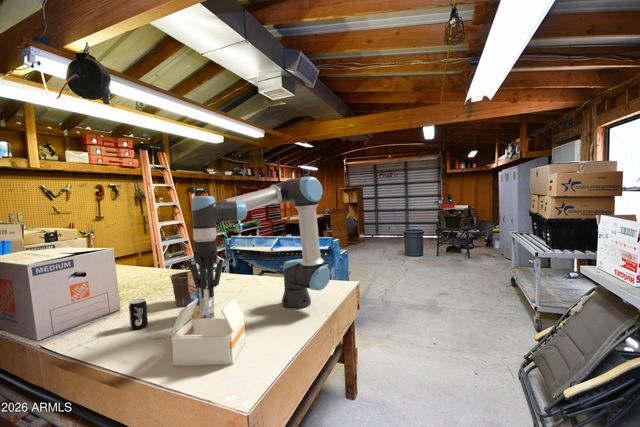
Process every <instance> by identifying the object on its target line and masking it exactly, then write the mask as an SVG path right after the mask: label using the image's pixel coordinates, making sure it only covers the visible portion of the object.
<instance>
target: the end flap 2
mask: <svg viewBox="0 0 640 427" xmlns="http://www.w3.org/2000/svg"><path fill="white" fill-rule="evenodd" d="M221 313H222V316H223V318H225V319H226V321H227V323H228V325H229V327H230V329H231V331H232V332H233V331H234V330H235V328H236V327H237V325H238V324H239V323H240V321H241V320H242V319H243V317H244V318H245V314H244V313H243V310H242V309H241V306H240V305H239V303H238V301H237V299H236V297H235V296H234V297H233V298H231V300H230V301H229V302H228V303H227V304H226V305H225V306H224V307H223V308H222V309H221Z"/></svg>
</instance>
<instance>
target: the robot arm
mask: <svg viewBox="0 0 640 427" xmlns="http://www.w3.org/2000/svg"><path fill="white" fill-rule="evenodd" d="M323 190H324V189H323V186H322V184H321V182H320V181H319V180H318V179H317V178H316V177H313V176H301V177H296V178H295V177H294V178H290V179H287V180H286V179H285V180H283V181H281V182H279V183H275V184H274V183H273V184H272V185H270V186H269V187H268V188H267V187H266V188H264V189H260V190H257V191H253V192H252V191H251V192H248V193H244V194H242V195H241V194H240V195H237V196H233V197H230V198H226V199H223V200H218V201H216V198H215V196H212V195H199V196H194V197H192V199H191V209H190V210H191V217H192V237H193V238H192V240H193V241H194V242H193V252H194V254H193V256H192V257H193V258H191V259H189V260H187V261H186V264H187V265H188V267H189V269H190V271H191V273H192V276H193V280H194V283H195V286H196V287H199V288H201V294H202V298H204V306H205V308H209V307H210V306H212V297H213V298H214V296H215V288H216V287H217V286H219V285H220V282H221V281H220V280H221V276H222V271H223V270H222V269H223V265H224V264H225V262H226V259H225V258H222V257H220V256H219V253H218V246H217V245H218V242H217V240H216V239H217V223H225V222H226V223H227V222H241V221H244V220H245V219H247V218H246V217H247V215H248V212H249V211H252V210H256V209H259V208H263V207H266V206H269V205H273V204H275V205H279V204H283V203H284V204H285V203H293V206H294V208H295V209H296V210H297V215H298V222H299V223H298V224H299V233H300V235H299V236H300V242H301V252H302V253H301V254H302V258H296V259H291V260H287V261H284V263H283V269H282V270H283V281H284V282H283V284H284V292H283V294H282V299H281V306H282V307H283V308H284V309H288V310H299V309H304V308H307V307H309V306H310V305H311V303H312V299H311V296H310V292H309V291H308V289H309V290H312V291H319V292H320V291H323V290H324V289H325V288H327V286H328V284H329V282H330V280H331V270H330V269H329V268H328V266H325V260H324V259H323V258H322V256H321V247H320V238H319V227H318V226H319V225H318V218H317V207H318V206H319V205H320V204H319V203H320V202H319V201H320V200H321V199H322V196H323V194H324V191H323ZM215 263H216V264H217V265H216V268H215V272H214V267H215V266H214V265H215ZM198 269H199V270H200V275H199V272H198ZM206 270H207V276H206ZM207 279H208V285H207ZM207 286H208V287H207ZM206 287H207V288H206Z"/></svg>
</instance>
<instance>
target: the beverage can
mask: <svg viewBox="0 0 640 427" xmlns="http://www.w3.org/2000/svg"><path fill="white" fill-rule="evenodd" d="M147 305H148V304H147V301H146V299H145V298H136V299H134V300H131V301H129V305H128V312H129V314H128V315H129V326H130V329H131V330H132V331H138V330H142V329H145V328H146V327H147V326H148V324H149V322H148V320H149V319H148V306H147Z"/></svg>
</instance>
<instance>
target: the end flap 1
mask: <svg viewBox="0 0 640 427" xmlns="http://www.w3.org/2000/svg"><path fill="white" fill-rule="evenodd" d="M197 301H198V299H196V300H194V301H193V302H192V303H190V304H189V305H188V306H184V307H183V308H182V309H181V310H180V311H179V312H178V314H177V318H176V320H175V323H174V326H173V327H172V331H171V334H175V333H176V331H177V332H178V331H179V330H180V329H181V328H182V327H183V326H185V325H186V324H187V323H188V322H189V321H190V320H192V318H193V317H192V315H193V312H194V309H195V307H196V304H197Z"/></svg>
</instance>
